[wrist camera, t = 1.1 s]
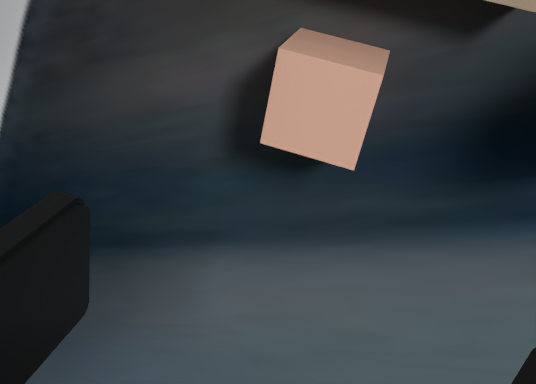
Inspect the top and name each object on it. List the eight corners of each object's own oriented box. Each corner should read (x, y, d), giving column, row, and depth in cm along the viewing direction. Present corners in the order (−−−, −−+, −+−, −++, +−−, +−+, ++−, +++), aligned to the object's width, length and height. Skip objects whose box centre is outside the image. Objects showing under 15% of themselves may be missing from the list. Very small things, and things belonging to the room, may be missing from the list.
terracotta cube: (300, 27, 33) (278, 47, 28) (389, 50, 32) (383, 75, 27) (282, 111, 36) (259, 143, 31) (364, 134, 36) (353, 170, 30)
